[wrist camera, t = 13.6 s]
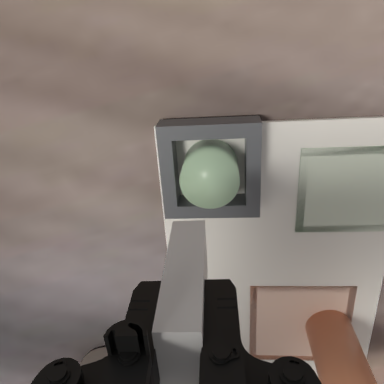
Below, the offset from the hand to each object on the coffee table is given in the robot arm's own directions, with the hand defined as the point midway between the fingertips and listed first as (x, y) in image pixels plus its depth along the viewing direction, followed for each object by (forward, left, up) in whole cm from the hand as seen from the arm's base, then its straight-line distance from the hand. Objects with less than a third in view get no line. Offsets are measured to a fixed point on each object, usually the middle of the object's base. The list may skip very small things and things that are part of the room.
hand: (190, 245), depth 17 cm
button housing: (+1, 0, -11) cm, 11 cm away
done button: (+1, 0, -12) cm, 12 cm away
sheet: (+6, -10, -11) cm, 16 cm away
